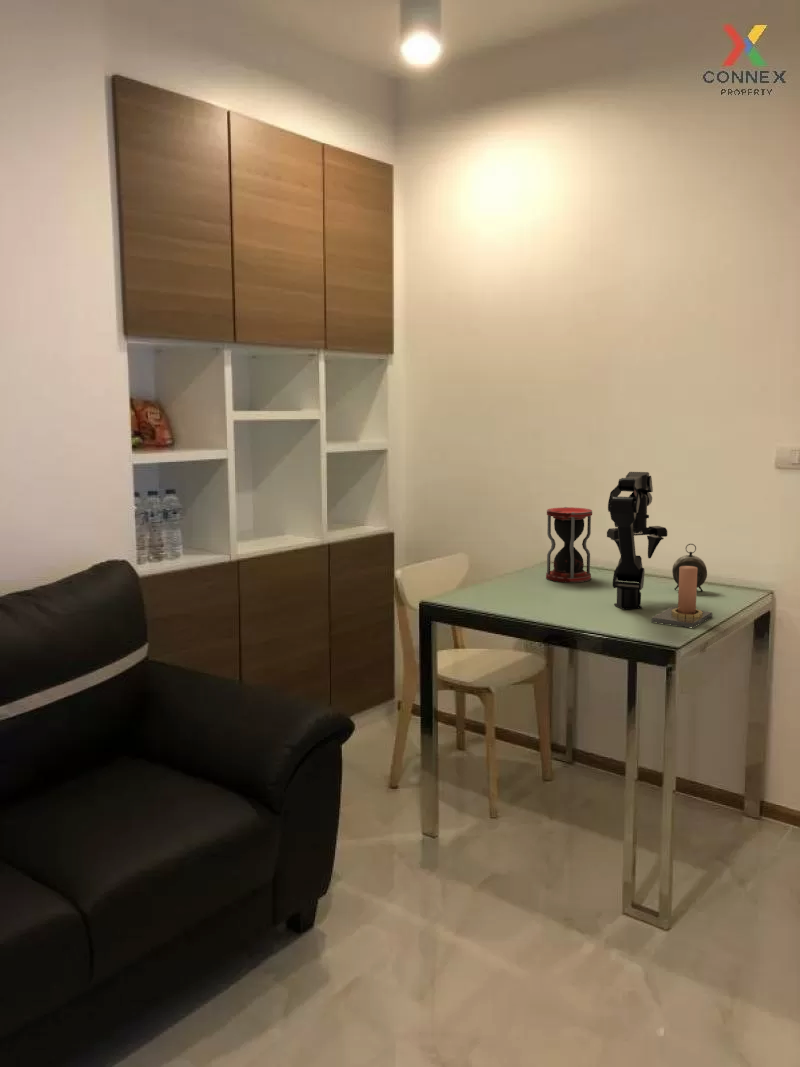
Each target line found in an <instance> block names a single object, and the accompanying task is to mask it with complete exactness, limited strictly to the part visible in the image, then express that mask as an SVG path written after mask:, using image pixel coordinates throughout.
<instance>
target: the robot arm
mask: <svg viewBox="0 0 800 1067" xmlns="http://www.w3.org/2000/svg"><path fill="white" fill-rule="evenodd" d="M653 488H654V487H653V479H652V475H650V472H648V471H629V472H628V473H627V474H626V475H625V477H621V478H619V479H618V483H617V485H616V486H615V487H614V488H613V489H612V490H611V491H610V494H609V497H608V503H607V512H609V514H610V520H611V521H612V522H614V528H612V527H611V528H608V529H607V531H606V538H609V539H610V540H611V541H614V542H615V544H616V546H617V548H618V551H619V555H620V558H619V560H618V562H617V563H618V564H617V566H616V567H615V570H613V578H612V587H613V589H616V602H615V603H614V604H613V605H614V606H615V607H616V608H619V609H621V610H635V609H643V606H642V592H641V590H643V589H644V585H645V583H644V582H645V568H644V566H643V562H642V559H643V558H642V557H641V555H637V554H636V543H635V536H646V537H647V542H648V543H647V558H648V559H651V558H652V557H653V555H654V553H655V551H656V549H657V547H658V546H659V543H661V541H662V540H664V537H665V538H666V537H668V529H667V528H666V527H663V526H661V525H650V526H648V527H647V524H648V521H647V519H649V518H650V515H649V514H648V506H650V505H651V504H652V503H653V496H652V493H653V492H654V491H653V490H654V489H653ZM622 492H629V493H630V492H631V493H630V494H629V495H628V496H620V495H621V493H622Z"/></svg>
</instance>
